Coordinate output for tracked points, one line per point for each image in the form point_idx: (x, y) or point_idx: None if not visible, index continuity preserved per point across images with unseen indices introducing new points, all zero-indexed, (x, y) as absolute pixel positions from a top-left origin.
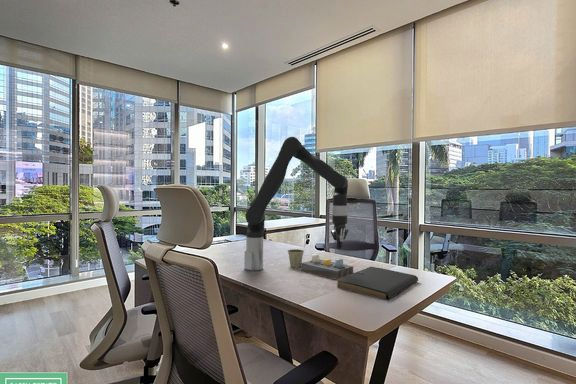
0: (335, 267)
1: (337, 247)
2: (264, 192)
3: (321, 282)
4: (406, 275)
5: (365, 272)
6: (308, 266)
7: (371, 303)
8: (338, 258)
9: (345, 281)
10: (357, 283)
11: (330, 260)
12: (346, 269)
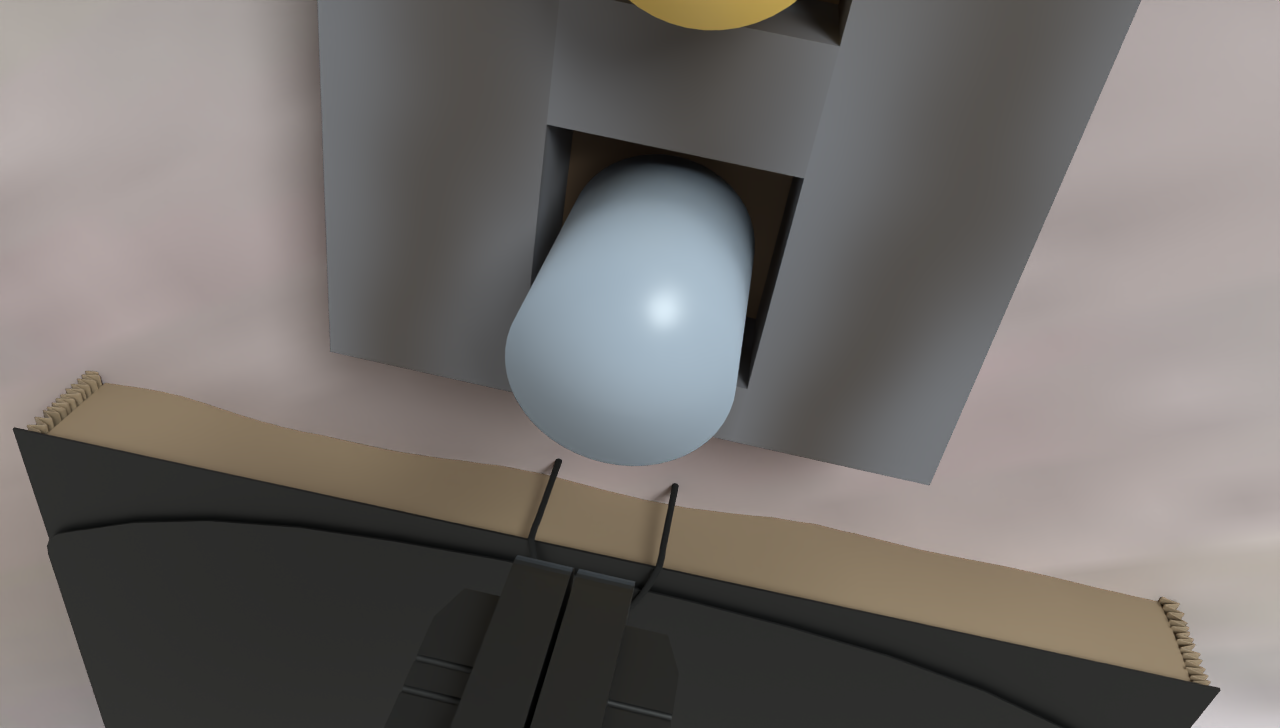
0: (579, 201)
1: (459, 606)
2: None
3: (46, 91)
4: None
5: (693, 670)
6: None
7: (10, 716)
8: (705, 328)
9: (52, 543)
10: (126, 657)
11: (708, 27)
12: None
